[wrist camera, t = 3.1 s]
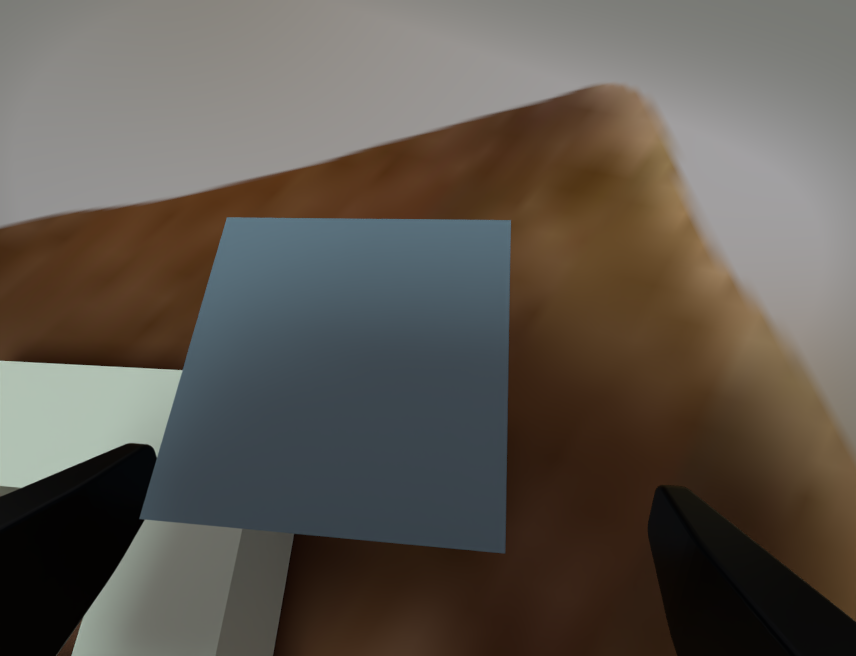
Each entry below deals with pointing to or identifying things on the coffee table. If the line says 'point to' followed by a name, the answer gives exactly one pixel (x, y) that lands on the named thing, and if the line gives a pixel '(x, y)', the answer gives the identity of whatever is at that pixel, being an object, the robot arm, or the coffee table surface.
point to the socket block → (156, 540)
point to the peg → (346, 384)
